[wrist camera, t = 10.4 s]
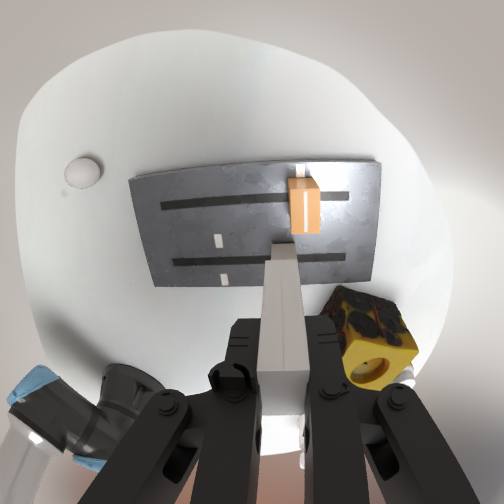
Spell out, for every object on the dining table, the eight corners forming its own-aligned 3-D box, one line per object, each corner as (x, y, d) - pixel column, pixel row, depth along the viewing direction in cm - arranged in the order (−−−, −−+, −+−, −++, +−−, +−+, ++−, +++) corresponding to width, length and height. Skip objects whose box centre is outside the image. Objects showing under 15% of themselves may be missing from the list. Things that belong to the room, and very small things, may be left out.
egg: (108, 185, 30) (91, 194, 26) (74, 183, 30) (57, 191, 26) (108, 155, 28) (90, 161, 25) (74, 155, 28) (55, 161, 25)
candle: (304, 336, 38) (309, 392, 29) (336, 283, 33) (352, 338, 24) (361, 349, 39) (375, 399, 30) (396, 301, 34) (421, 351, 25)
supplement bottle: (384, 336, 37) (399, 377, 29) (407, 338, 37) (424, 376, 29) (372, 356, 39) (383, 397, 32) (394, 357, 39) (407, 395, 32)
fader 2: (289, 216, 27) (291, 234, 23) (287, 178, 26) (290, 189, 21) (313, 216, 27) (320, 233, 23) (313, 177, 25) (320, 188, 21)
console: (160, 278, 35) (154, 286, 33) (136, 176, 29) (128, 180, 27) (366, 272, 32) (370, 281, 30) (374, 160, 26) (381, 163, 24)
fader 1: (273, 276, 31) (272, 300, 27) (271, 244, 29) (270, 265, 25) (295, 275, 30) (297, 299, 26) (295, 243, 29) (297, 264, 25)
